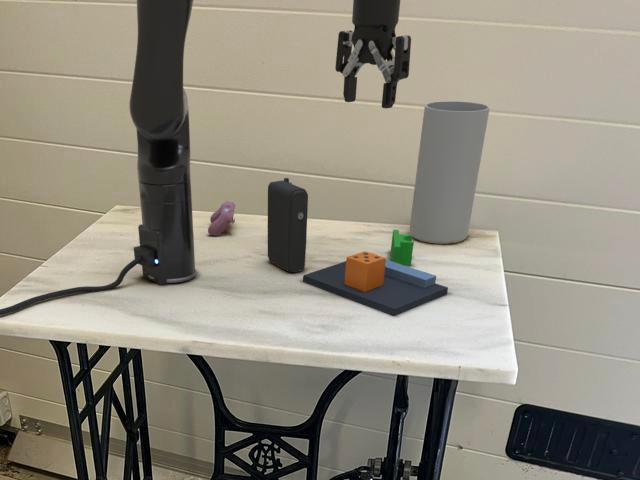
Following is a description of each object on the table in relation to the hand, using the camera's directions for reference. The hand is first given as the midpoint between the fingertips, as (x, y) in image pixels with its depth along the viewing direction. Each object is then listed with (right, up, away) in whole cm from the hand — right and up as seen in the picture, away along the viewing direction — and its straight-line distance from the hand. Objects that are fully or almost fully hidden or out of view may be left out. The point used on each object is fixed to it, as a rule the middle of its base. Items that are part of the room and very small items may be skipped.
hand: (368, 104), depth 126 cm
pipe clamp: (+9, -21, +20) cm, 30 cm away
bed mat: (+2, -29, +8) cm, 30 cm away
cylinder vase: (+20, -11, +33) cm, 40 cm away
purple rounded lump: (-27, -8, +36) cm, 46 cm away
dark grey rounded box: (-13, -22, +17) cm, 31 cm away
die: (0, -29, +6) cm, 30 cm away
